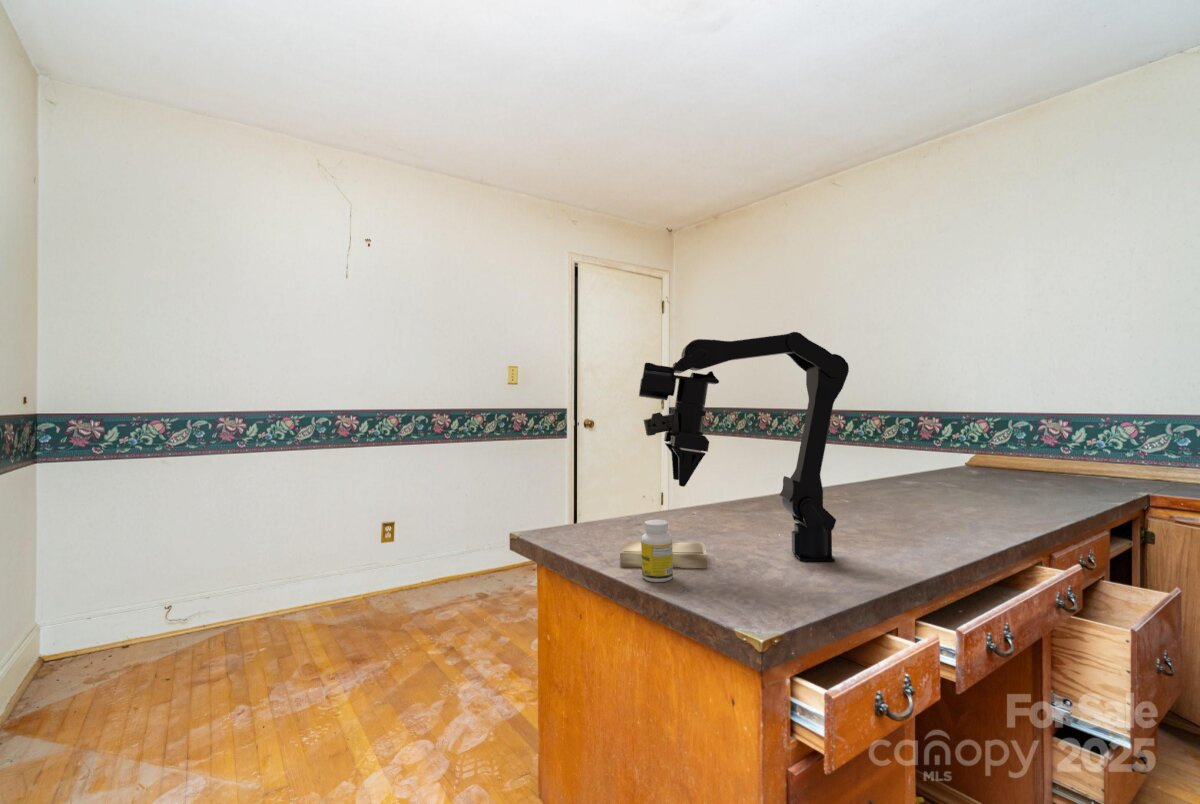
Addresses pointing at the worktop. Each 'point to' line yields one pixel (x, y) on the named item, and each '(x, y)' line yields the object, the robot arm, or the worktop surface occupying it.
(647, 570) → the supplement bottle
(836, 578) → the worktop surface
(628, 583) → the worktop surface
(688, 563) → the birch plinth
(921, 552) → the worktop surface
